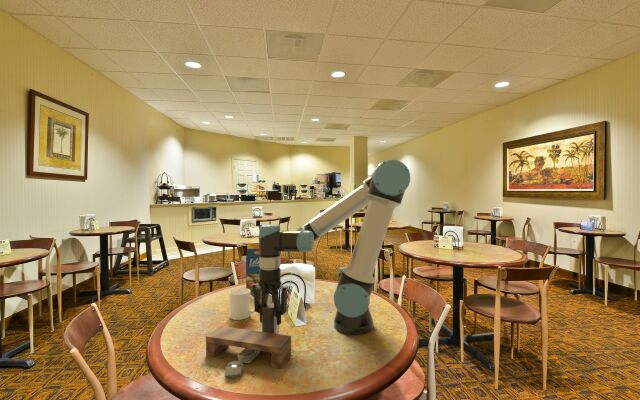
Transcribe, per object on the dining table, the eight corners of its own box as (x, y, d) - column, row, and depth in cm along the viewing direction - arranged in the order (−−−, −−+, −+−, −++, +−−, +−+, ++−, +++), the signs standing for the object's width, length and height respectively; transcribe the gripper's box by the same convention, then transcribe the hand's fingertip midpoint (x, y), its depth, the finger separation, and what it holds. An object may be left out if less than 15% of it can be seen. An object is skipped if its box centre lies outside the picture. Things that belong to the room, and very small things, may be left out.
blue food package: (268, 291, 162) (268, 244, 162) (246, 291, 163) (245, 244, 162) (270, 288, 169) (270, 242, 168) (249, 288, 169) (248, 243, 169)
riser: (291, 355, 98) (291, 335, 98) (280, 368, 90) (280, 347, 90) (221, 343, 105) (221, 326, 105) (206, 355, 98) (205, 336, 98)
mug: (251, 322, 123) (251, 296, 123) (225, 319, 126) (225, 293, 126) (261, 314, 131) (261, 289, 131) (236, 311, 134) (236, 287, 134)
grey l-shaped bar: (268, 331, 113) (268, 302, 113) (278, 333, 112) (278, 303, 112) (237, 361, 93) (237, 325, 93) (249, 363, 92) (249, 327, 92)
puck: (246, 371, 89) (246, 362, 89) (236, 380, 85) (236, 372, 85) (232, 367, 91) (232, 359, 91) (221, 377, 86) (221, 368, 86)
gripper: (295, 266, 111) (296, 330, 111) (253, 264, 116) (254, 325, 116) (287, 271, 104) (288, 340, 104) (243, 268, 109) (244, 334, 109)
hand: (270, 332), depth 110 cm, fingers closed on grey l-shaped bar, 4 cm apart
